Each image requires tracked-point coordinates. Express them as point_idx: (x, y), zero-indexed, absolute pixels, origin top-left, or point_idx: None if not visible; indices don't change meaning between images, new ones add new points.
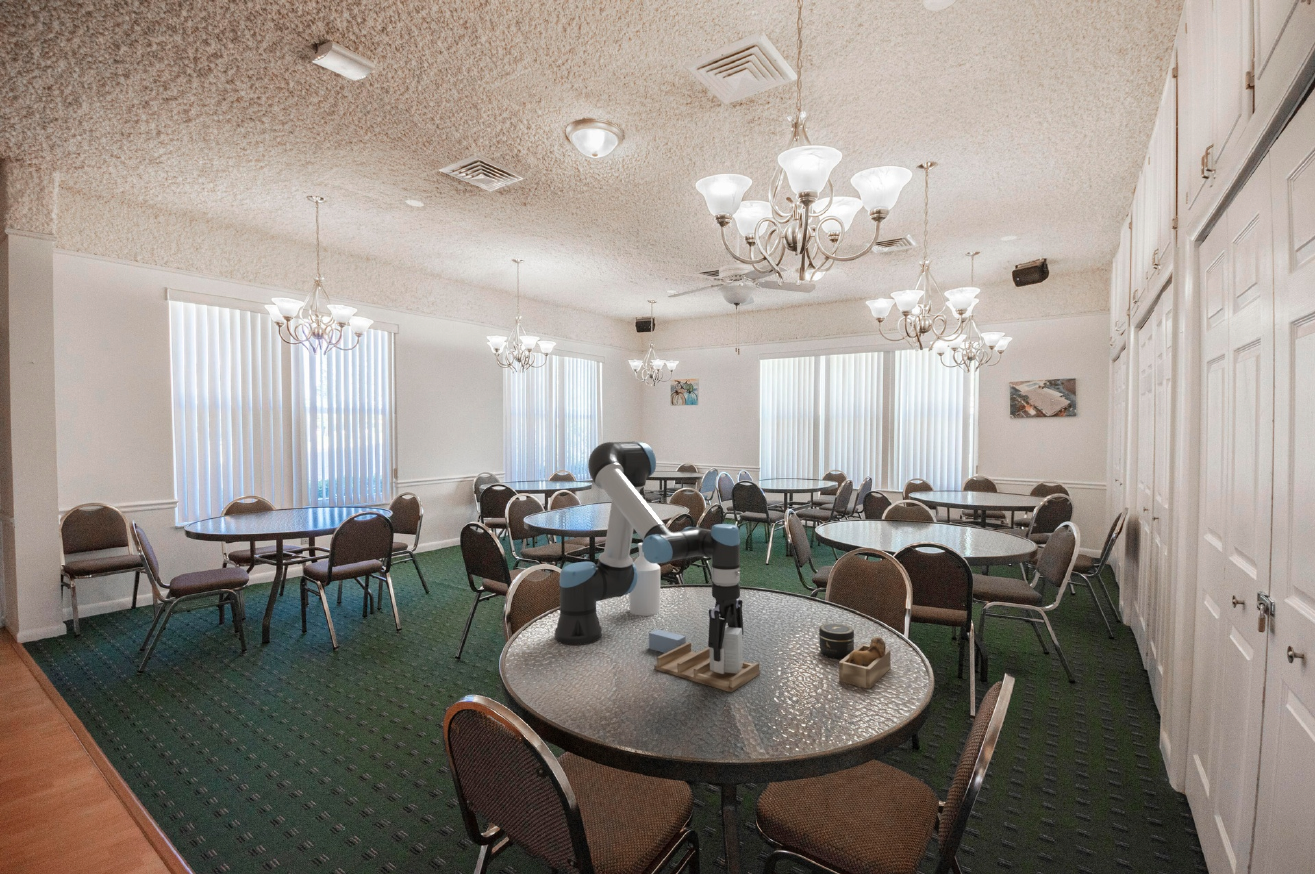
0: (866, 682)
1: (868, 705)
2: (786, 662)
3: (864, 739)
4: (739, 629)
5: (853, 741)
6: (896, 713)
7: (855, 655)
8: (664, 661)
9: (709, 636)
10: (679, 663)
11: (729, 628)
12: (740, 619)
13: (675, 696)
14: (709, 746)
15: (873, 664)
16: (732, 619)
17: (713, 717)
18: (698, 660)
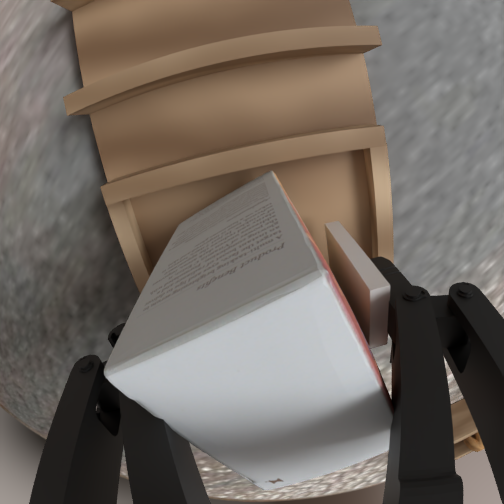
0: None
1: (353, 471)
2: (491, 286)
3: (245, 499)
4: (368, 454)
5: (228, 497)
6: (350, 485)
7: (471, 449)
8: None
9: (59, 420)
10: (68, 107)
11: (337, 429)
12: (482, 437)
13: (13, 244)
14: (27, 412)
15: (455, 459)
16: (386, 500)
17: (60, 379)
18: (244, 63)
